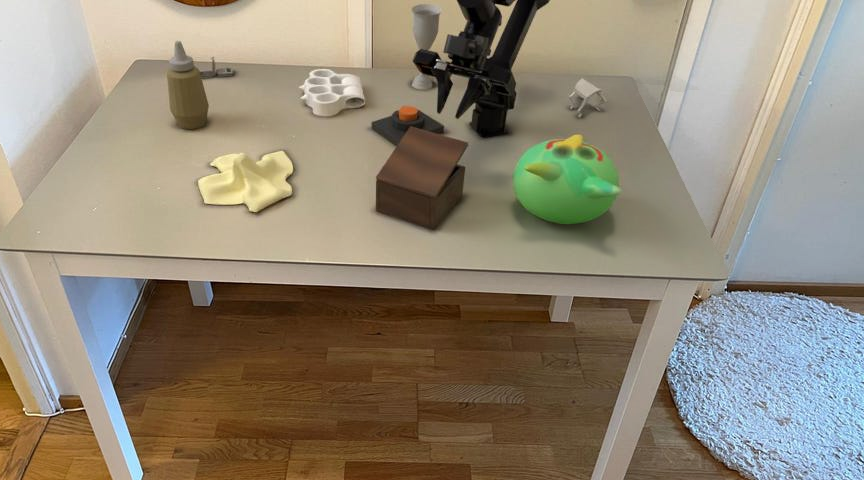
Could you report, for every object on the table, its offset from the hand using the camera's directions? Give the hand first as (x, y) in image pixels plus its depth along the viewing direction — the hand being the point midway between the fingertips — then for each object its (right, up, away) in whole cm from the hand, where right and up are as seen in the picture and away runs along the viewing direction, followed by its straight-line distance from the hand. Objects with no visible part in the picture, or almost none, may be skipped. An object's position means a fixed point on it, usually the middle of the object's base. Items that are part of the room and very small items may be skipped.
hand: (447, 115), depth 124 cm
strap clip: (-53, +19, +43) cm, 71 cm away
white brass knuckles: (-24, +12, +35) cm, 43 cm away
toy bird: (+20, -18, 0) cm, 27 cm away
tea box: (-5, -16, +2) cm, 17 cm away
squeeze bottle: (-53, +4, +24) cm, 58 cm away
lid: (-5, -9, -3) cm, 11 cm away
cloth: (-37, -11, +8) cm, 40 cm away
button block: (-6, +2, +23) cm, 24 cm away
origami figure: (+34, +10, +34) cm, 50 cm away
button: (-6, +4, +21) cm, 23 cm away
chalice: (-2, +16, +41) cm, 44 cm away
